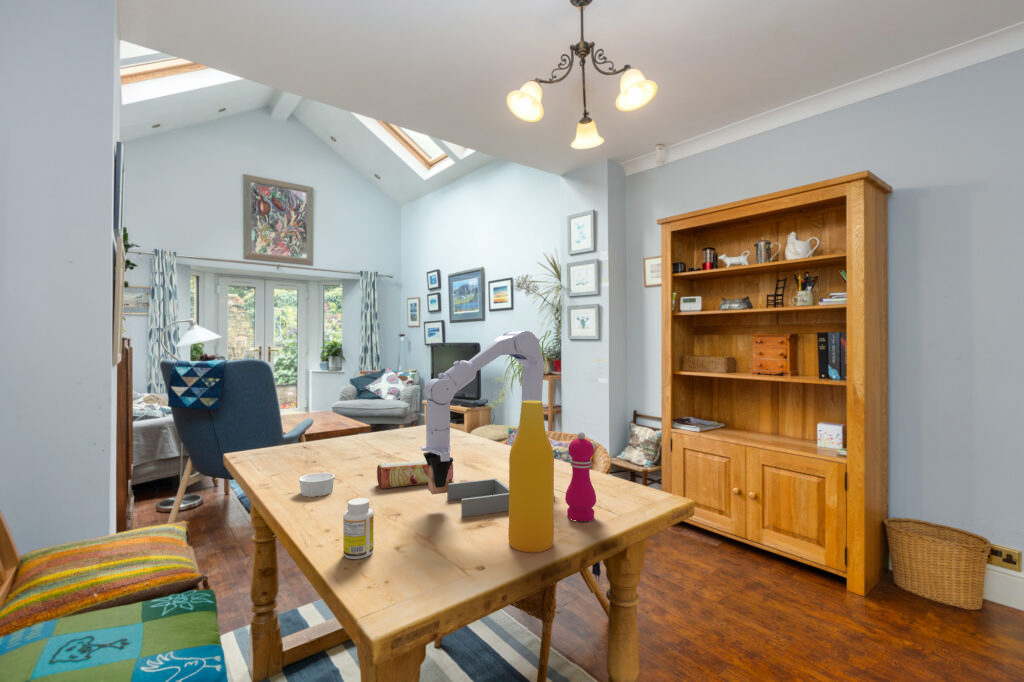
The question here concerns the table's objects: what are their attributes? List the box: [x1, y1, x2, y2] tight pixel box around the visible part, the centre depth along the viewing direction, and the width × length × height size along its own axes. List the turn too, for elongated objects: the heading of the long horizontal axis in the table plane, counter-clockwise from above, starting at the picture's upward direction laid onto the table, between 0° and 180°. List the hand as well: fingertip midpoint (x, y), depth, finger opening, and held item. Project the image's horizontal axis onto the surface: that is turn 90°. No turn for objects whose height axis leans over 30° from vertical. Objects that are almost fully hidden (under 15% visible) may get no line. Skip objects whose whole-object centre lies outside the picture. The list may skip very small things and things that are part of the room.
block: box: [427, 465, 450, 495], centre depth 117 cm, size 4×4×6 cm
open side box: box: [446, 477, 509, 518], centre depth 122 cm, size 14×14×4 cm
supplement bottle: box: [342, 497, 375, 560], centre depth 93 cm, size 6×6×10 cm
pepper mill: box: [564, 431, 597, 522], centre depth 113 cm, size 7×7×20 cm
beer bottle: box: [507, 400, 555, 553], centre depth 98 cm, size 9×9×29 cm
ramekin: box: [298, 472, 336, 498], centre depth 130 cm, size 9×9×4 cm
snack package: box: [376, 459, 454, 490], centre depth 139 cm, size 21×7×7 cm, turn 114°
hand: (437, 484), depth 117 cm, fingers closed on block, 4 cm apart
